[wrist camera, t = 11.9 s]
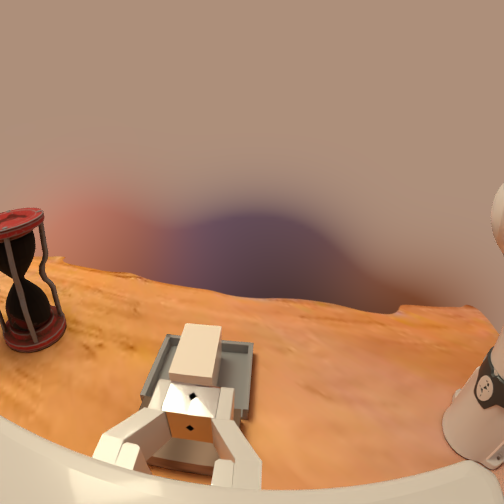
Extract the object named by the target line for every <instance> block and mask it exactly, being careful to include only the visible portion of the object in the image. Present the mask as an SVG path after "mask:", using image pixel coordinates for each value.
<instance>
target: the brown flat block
mask: <svg viewBox="0 0 504 504" xmlns="http://www.w3.org/2000/svg"><path fill="white" fill-rule="evenodd" d="M151 398H152V397H149V396H145V397H144V399H143V401H142V404H141V406H140V409H139V410H141V409H142V408H144V407H146V408H148V406H149V403H150V401H151ZM233 420H234V421H235V423H236V424H237V426H238V427H239V429H240V422H241V409H234V416H233ZM218 459H220V457H219V455H218V453H217V451H216V449H215V447H214V445H213V443H207V442H201V441H195V440H188V439H181V438H174V437H171V439H170V440H169V441H168V442H167V443H166V444H165V445H164V446H162V447H161V448H160V449H159V450H158V451H157V452H156V453H155V454H154V455H152V456H151V457H150V458H149V459H148V460H147V461H146V463H147V464H149V465H153V466H157V467H162V468H167V469H172V470H177V471H183V472H189V473H195V474H202V475H209V476H213V470H214V465H215V461H216V460H218Z"/></svg>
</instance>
